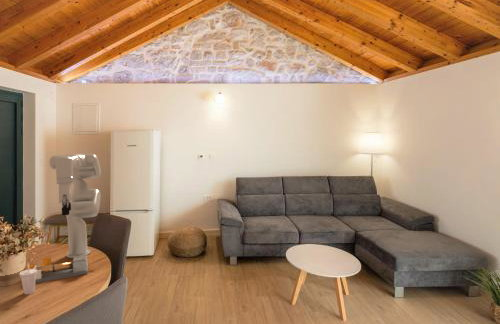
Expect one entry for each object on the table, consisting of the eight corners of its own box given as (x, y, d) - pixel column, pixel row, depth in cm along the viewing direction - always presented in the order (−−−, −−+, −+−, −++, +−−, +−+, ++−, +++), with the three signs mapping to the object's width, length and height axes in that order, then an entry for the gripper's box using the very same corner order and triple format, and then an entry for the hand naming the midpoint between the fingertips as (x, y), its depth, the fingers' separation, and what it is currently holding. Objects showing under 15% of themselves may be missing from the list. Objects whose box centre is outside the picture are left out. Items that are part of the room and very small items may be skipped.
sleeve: (74, 268, 159) (73, 257, 159) (87, 266, 162) (86, 255, 161) (73, 273, 154) (72, 261, 153) (86, 270, 156) (86, 259, 156)
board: (35, 276, 153) (34, 274, 152) (87, 267, 163) (87, 265, 163) (31, 283, 145) (31, 281, 145) (87, 273, 156) (87, 271, 156)
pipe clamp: (45, 268, 162) (43, 256, 162) (52, 268, 161) (50, 256, 161) (24, 278, 150) (22, 266, 150) (31, 278, 149) (30, 266, 149)
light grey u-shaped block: (35, 274, 152) (35, 265, 151) (43, 273, 153) (42, 264, 153) (33, 280, 146) (32, 270, 146) (41, 278, 148) (40, 269, 147)
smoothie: (24, 297, 133) (22, 266, 132) (18, 293, 136) (16, 263, 135) (40, 291, 138) (39, 261, 137) (34, 287, 142) (32, 258, 140)
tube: (38, 273, 151) (37, 265, 151) (75, 267, 158) (74, 259, 158) (36, 276, 148) (36, 268, 147) (74, 269, 155) (74, 262, 154)
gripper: (58, 178, 164) (60, 209, 165) (54, 183, 148) (56, 217, 150) (74, 177, 167) (76, 208, 168) (71, 182, 151) (73, 215, 153)
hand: (66, 212), depth 159 cm, fingers open, 9 cm apart
